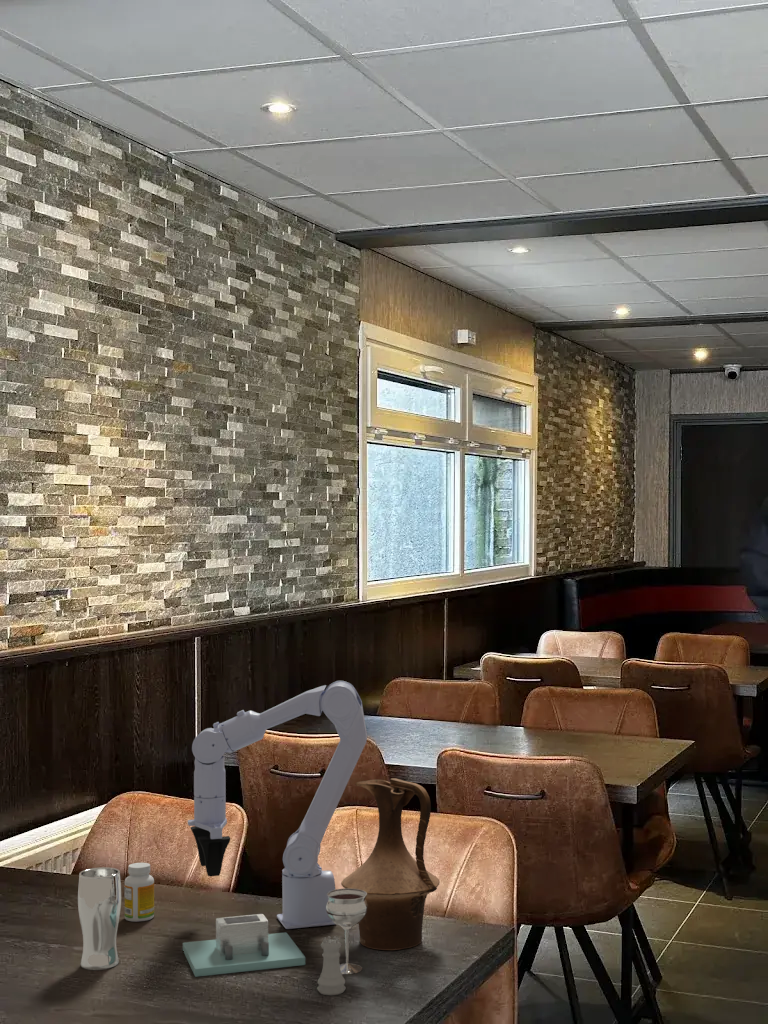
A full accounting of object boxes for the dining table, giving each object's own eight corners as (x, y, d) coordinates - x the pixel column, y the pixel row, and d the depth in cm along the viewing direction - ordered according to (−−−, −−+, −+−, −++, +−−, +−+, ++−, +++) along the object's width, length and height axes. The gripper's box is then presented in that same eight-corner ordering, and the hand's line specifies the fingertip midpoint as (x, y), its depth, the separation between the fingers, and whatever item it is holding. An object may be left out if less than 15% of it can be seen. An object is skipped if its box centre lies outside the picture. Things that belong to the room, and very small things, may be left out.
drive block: (263, 943, 212) (262, 913, 212) (268, 951, 208) (268, 920, 208) (216, 948, 210) (215, 917, 210) (220, 956, 206) (220, 925, 206)
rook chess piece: (316, 986, 195) (316, 934, 195) (345, 985, 195) (344, 933, 195) (317, 996, 190) (317, 943, 191) (346, 995, 191) (346, 942, 191)
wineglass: (337, 978, 198) (336, 902, 199) (319, 966, 204) (318, 891, 205) (375, 971, 201) (374, 896, 202) (356, 959, 207) (356, 886, 208)
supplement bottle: (157, 914, 234) (157, 861, 234) (149, 922, 229) (149, 869, 229) (129, 913, 234) (129, 861, 235) (120, 922, 229) (120, 868, 229)
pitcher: (460, 936, 219) (458, 775, 220) (409, 964, 205) (408, 792, 205) (375, 921, 228) (374, 766, 229) (321, 946, 214) (320, 781, 215)
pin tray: (286, 939, 218) (286, 920, 218) (305, 964, 205) (305, 945, 205) (182, 949, 213) (182, 930, 213) (195, 976, 200) (195, 956, 200)
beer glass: (129, 959, 208) (129, 868, 208) (106, 973, 202) (106, 879, 202) (92, 955, 210) (92, 865, 211) (69, 968, 204) (69, 875, 204)
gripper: (182, 789, 235) (182, 862, 234) (193, 804, 221) (194, 882, 221) (219, 787, 237) (220, 859, 236) (233, 801, 223) (233, 878, 223)
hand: (210, 870), depth 229 cm, fingers open, 7 cm apart
